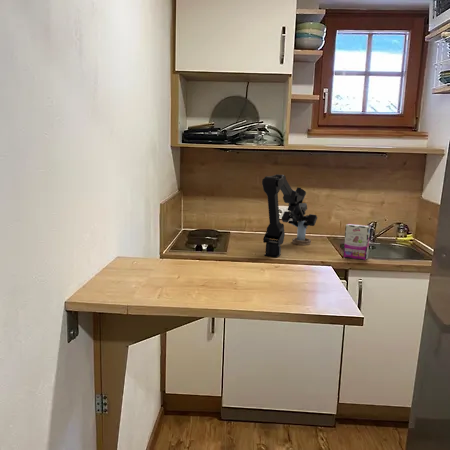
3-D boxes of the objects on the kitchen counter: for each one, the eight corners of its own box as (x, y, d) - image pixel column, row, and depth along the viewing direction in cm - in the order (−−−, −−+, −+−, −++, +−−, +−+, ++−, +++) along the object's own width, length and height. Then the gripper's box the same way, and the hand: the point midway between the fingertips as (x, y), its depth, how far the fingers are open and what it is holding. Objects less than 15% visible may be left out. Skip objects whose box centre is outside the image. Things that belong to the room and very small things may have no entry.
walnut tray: (290, 243, 257) (290, 240, 256) (295, 240, 266) (295, 236, 265) (308, 245, 253) (308, 242, 252) (312, 242, 262) (312, 239, 261)
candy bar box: (368, 258, 230) (371, 225, 227) (365, 260, 225) (369, 227, 222) (345, 255, 235) (347, 223, 232) (342, 257, 231) (345, 224, 228)
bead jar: (296, 240, 256) (298, 217, 253) (296, 238, 260) (298, 216, 258) (305, 240, 255) (307, 218, 253) (304, 239, 260) (306, 216, 257)
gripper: (317, 200, 245) (323, 218, 257) (285, 196, 255) (292, 214, 266) (310, 216, 240) (317, 234, 251) (277, 212, 250) (285, 229, 261)
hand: (302, 227), depth 258 cm, fingers closed on bead jar, 4 cm apart
